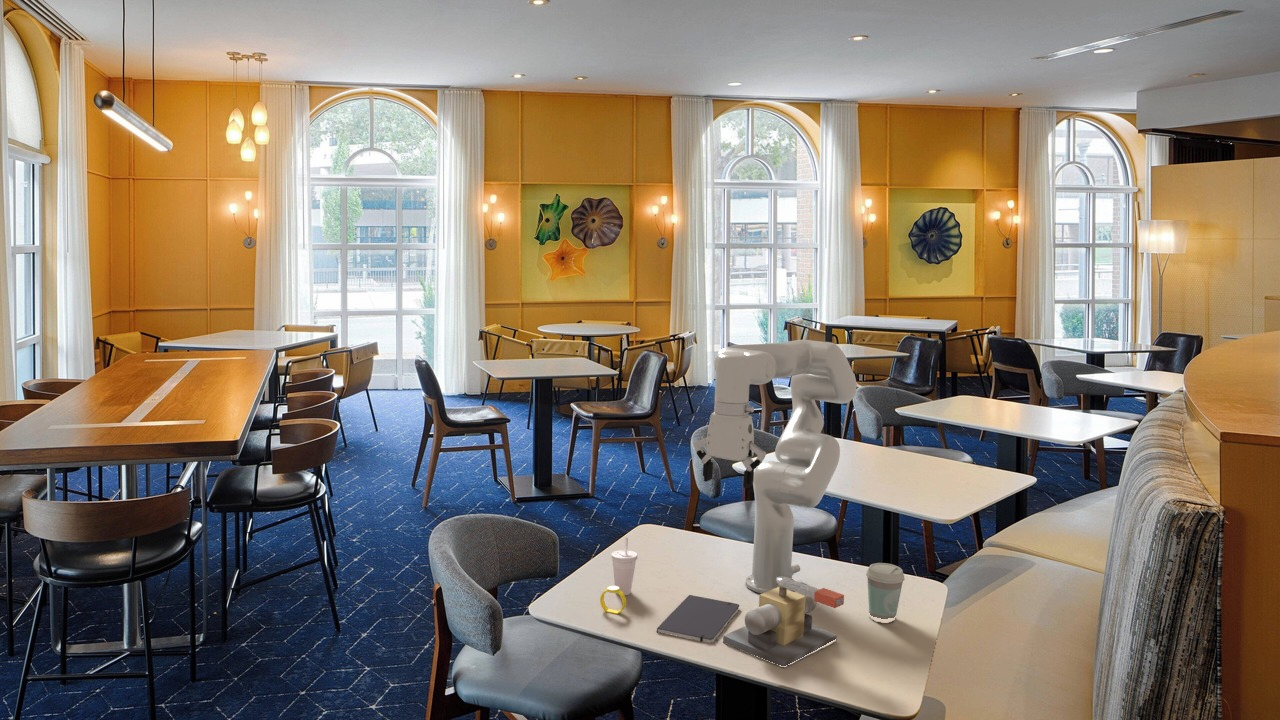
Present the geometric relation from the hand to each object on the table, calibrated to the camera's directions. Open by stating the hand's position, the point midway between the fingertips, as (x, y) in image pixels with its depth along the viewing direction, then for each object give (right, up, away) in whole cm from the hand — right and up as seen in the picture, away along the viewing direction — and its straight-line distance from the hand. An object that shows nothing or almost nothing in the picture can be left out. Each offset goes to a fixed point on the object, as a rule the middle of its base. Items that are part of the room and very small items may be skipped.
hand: (727, 483), depth 210 cm
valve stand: (+10, -33, -9) cm, 36 cm away
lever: (+15, -21, -15) cm, 30 cm away
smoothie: (-24, -29, +16) cm, 41 cm away
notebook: (-6, -32, +1) cm, 32 cm away
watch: (-26, -30, +4) cm, 40 cm away
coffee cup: (+36, -32, +6) cm, 49 cm away
